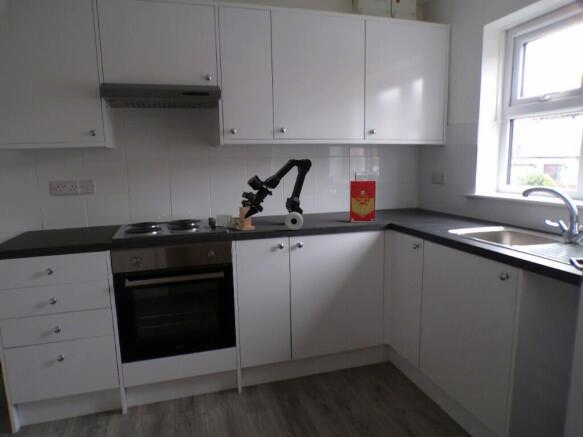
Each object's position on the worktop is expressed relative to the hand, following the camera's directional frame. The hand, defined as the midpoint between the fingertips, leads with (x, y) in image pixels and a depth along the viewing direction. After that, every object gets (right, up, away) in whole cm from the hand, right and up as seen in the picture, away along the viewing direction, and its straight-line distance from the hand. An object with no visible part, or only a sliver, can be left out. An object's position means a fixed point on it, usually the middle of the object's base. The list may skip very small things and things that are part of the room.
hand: (242, 217), depth 204 cm
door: (-4, -6, +1) cm, 7 cm away
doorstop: (+2, -6, +2) cm, 7 cm away
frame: (-11, -5, +9) cm, 15 cm away
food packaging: (+71, -3, +24) cm, 75 cm away
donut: (+29, -7, -4) cm, 30 cm away
